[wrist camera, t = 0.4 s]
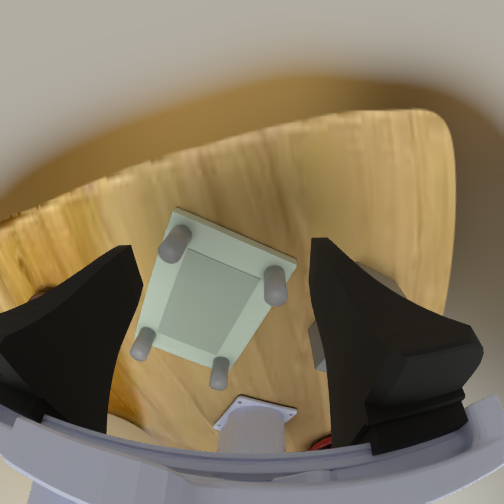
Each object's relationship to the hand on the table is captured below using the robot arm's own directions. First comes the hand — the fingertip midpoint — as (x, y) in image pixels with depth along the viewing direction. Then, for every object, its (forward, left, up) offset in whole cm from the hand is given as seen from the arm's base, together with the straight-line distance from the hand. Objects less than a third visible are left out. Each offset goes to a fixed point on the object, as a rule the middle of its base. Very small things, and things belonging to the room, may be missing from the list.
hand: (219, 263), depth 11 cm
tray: (-10, -1, -10) cm, 14 cm away
